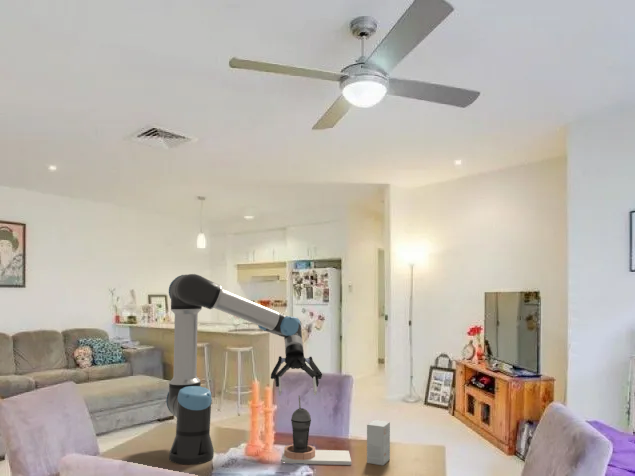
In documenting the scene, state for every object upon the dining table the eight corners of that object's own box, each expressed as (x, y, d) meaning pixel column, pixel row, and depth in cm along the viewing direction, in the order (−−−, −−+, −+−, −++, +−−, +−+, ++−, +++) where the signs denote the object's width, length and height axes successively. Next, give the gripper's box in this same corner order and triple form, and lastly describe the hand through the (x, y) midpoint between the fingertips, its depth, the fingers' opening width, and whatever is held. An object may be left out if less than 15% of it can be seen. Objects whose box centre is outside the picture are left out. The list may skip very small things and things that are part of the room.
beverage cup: (301, 458, 168) (303, 398, 171) (285, 454, 173) (287, 395, 176) (314, 453, 174) (315, 395, 177) (298, 449, 178) (300, 393, 181)
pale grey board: (281, 463, 167) (281, 459, 167) (283, 452, 179) (283, 449, 179) (351, 465, 167) (351, 461, 167) (348, 454, 179) (348, 450, 179)
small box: (373, 456, 177) (373, 419, 179) (390, 459, 175) (390, 421, 176) (366, 462, 170) (366, 424, 172) (383, 465, 167) (383, 426, 169)
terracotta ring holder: (283, 459, 168) (283, 453, 168) (285, 449, 179) (285, 443, 179) (315, 460, 168) (315, 454, 168) (315, 450, 179) (315, 444, 179)
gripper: (322, 354, 206) (328, 398, 189) (263, 354, 202) (264, 399, 185) (325, 343, 202) (331, 387, 185) (264, 342, 197) (266, 387, 181)
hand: (298, 393), depth 185 cm, fingers open, 13 cm apart
